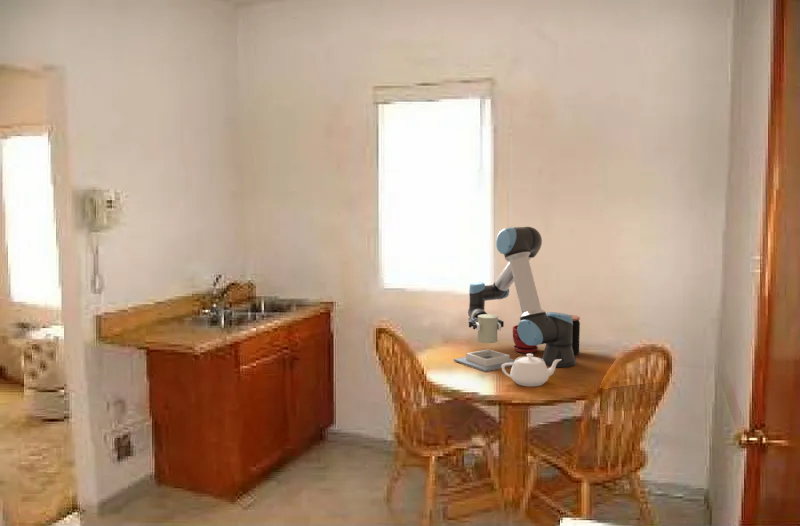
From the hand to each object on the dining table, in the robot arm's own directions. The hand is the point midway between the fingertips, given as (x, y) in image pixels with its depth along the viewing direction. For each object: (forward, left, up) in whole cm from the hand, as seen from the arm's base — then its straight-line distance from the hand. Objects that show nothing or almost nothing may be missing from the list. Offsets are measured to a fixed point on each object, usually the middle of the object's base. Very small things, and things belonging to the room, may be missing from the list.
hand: (489, 327), depth 295 cm
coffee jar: (-5, -45, -17) cm, 49 cm away
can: (+4, -2, -7) cm, 9 cm away
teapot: (-30, +4, -17) cm, 35 cm away
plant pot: (+10, -32, -17) cm, 38 cm away
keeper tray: (+4, -2, -17) cm, 18 cm away
